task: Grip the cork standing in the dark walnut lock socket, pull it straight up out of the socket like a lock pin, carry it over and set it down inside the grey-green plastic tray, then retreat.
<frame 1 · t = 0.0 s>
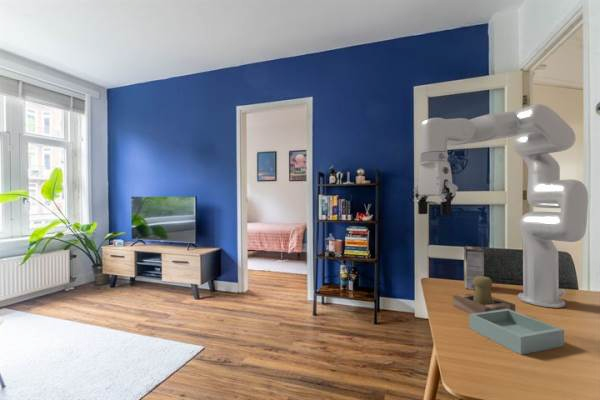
hand: (433, 214, 88), 31 cm above the table, tool pointing down, fingers open, 9 cm apart
cork: (482, 311, 91), resting in lock socket
tray: (513, 336, 74), on the table
lock socket: (482, 310, 91), on the table
coffee box: (473, 287, 117), on the table
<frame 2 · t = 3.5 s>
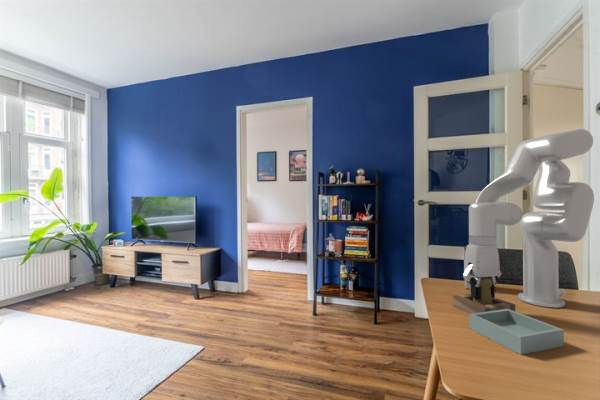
hand: (482, 297, 91), 4 cm above the table, tool pointing down, fingers closed on cork, 4 cm apart
cork: (482, 311, 91), resting in lock socket, touching gripper
everything else where it was.
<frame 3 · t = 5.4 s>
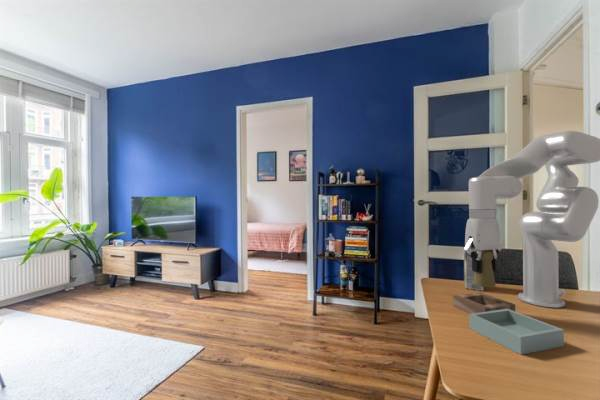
hand: (483, 270, 92), 13 cm above the table, tool pointing down, fingers closed on cork, 4 cm apart
cork: (484, 284, 92), point 8 cm above the table, touching gripper
everything else where it was.
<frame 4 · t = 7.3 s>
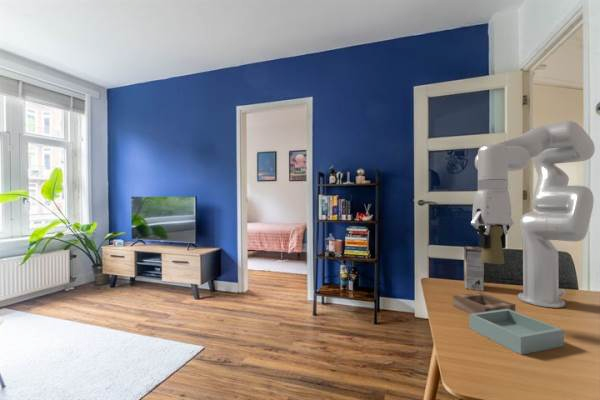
hand: (492, 247, 84), 22 cm above the table, tool pointing down, fingers closed on cork, 4 cm apart
cork: (492, 262, 84), point 17 cm above the table, touching gripper
everything else where it was.
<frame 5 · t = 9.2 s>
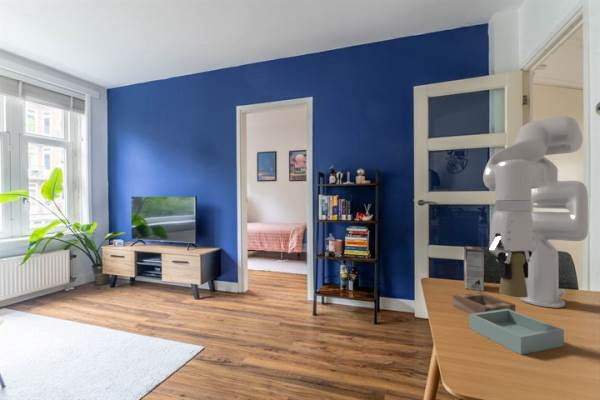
hand: (513, 276, 74), 16 cm above the table, tool pointing down, fingers closed on cork, 4 cm apart
cork: (512, 294, 74), point 11 cm above the table, touching gripper
everything else where it was.
when the fingers open (7 cm above the table, at t = 11.0 s): cork drops 2 cm, resting on tray.
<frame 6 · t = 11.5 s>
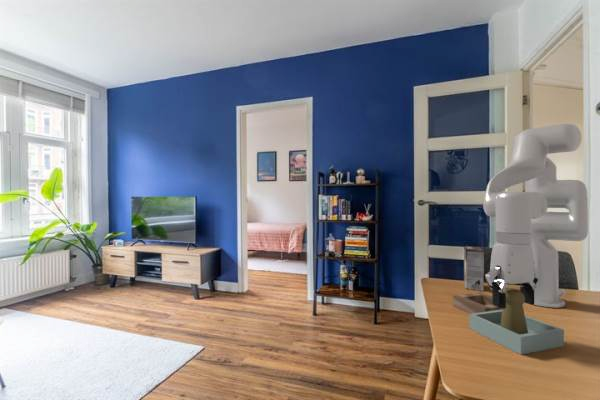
hand: (513, 304, 74), 8 cm above the table, tool pointing down, fingers open, 9 cm apart
cork: (513, 333, 74), point 1 cm above the table, touching tray
everything else where it was.
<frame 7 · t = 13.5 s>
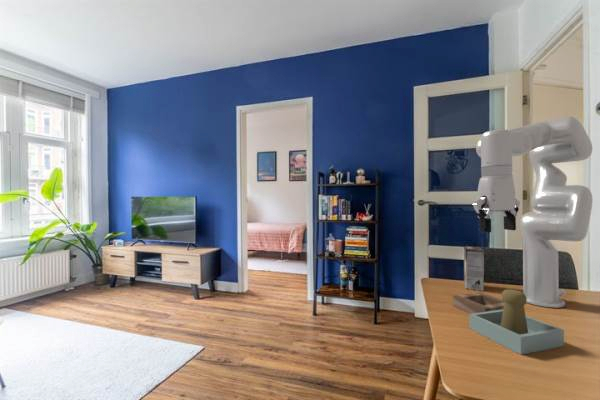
hand: (497, 230, 84), 27 cm above the table, tool pointing down, fingers open, 9 cm apart
nothing on the table moved.
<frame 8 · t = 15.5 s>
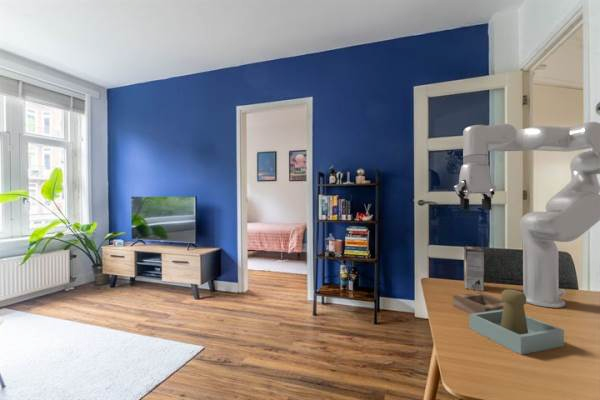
hand: (475, 209, 100), 32 cm above the table, tool pointing down, fingers open, 9 cm apart
nothing on the table moved.
at the end: cork inside the target area on the tray (0.1 cm from its centre), point 0.8 cm above the tray's base; the gripper is holding nothing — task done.
